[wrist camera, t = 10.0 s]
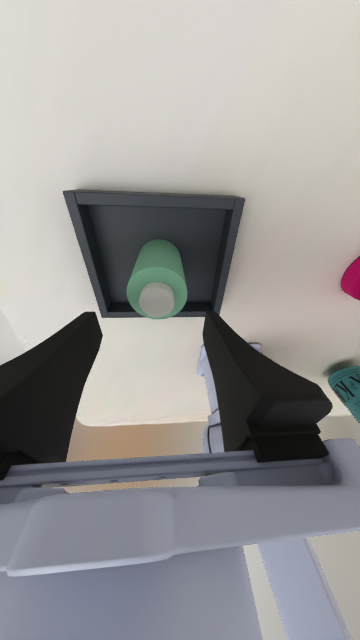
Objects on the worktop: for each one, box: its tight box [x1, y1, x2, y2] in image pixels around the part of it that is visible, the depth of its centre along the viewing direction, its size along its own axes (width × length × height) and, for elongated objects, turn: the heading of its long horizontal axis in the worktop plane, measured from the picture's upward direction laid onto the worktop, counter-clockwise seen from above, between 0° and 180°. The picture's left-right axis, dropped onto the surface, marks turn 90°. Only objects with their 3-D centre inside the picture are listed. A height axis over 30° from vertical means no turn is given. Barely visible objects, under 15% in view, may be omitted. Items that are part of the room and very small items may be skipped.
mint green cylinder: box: [127, 239, 187, 319], centre depth 15 cm, size 4×4×8 cm
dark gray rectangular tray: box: [63, 190, 245, 318], centre depth 18 cm, size 14×12×2 cm
